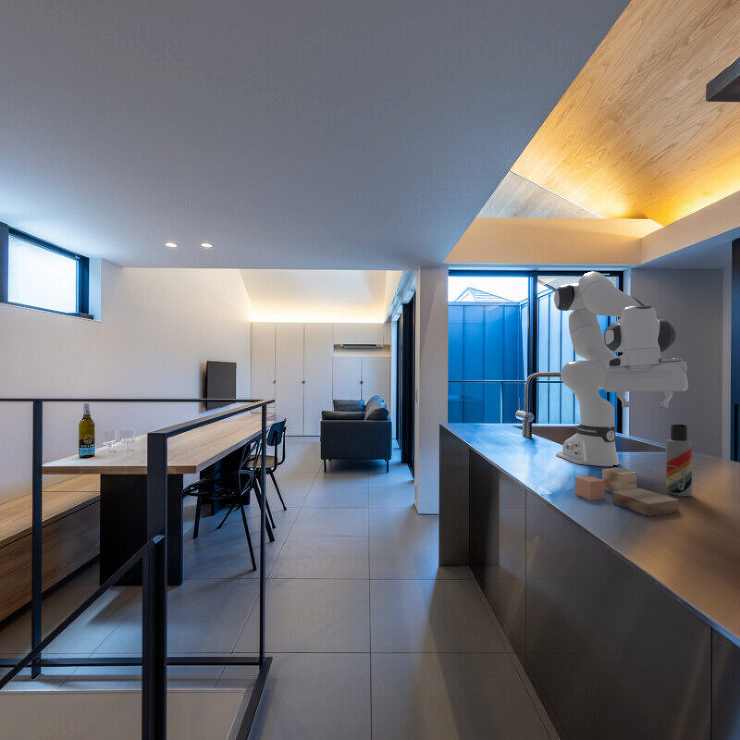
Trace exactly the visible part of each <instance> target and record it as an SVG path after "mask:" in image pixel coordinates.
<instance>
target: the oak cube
mask: <svg viewBox="0 0 740 740" xmlns="http://www.w3.org/2000/svg"><path fill="white" fill-rule="evenodd" d="M637 475H638V473H637V471H636V472H635V471H631V470H628V469H625V468H622V467H621V468H619V467H612V468H611V467H610V468H601V479H602V480H605V491H606V492H609V493H612V491H620V490H628V489H637V488H638V485H637V484H638V483H637V482H638V480H637V478H638V476H637Z"/></svg>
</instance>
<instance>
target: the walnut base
mask: <svg viewBox="0 0 740 740" xmlns="http://www.w3.org/2000/svg"><path fill="white" fill-rule="evenodd" d="M611 503H612V504H614V505H616V506H619V507H623V508H624V509H627V508H628V510H630V509H631V511H633V512H636V513H638V512H639V513H638V514H641V513H642V514H641V515H644V516H646V515H648V516H647V517H649V516H650V517H654V516H653V515H656V516H661V515H660V514H663V515H668V514H667V513H669V514H673V513H672V512H676V513H679V512H680V499H677V498H674V497H671V496H667V495H664V494H661V493H657V492H655V491H650V490H647V489H644V488H641V487H639V488H638V487H637V489H628V490H620V491H612V492H611ZM678 511H679V512H678Z"/></svg>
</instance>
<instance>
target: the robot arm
mask: <svg viewBox="0 0 740 740" xmlns="http://www.w3.org/2000/svg"><path fill="white" fill-rule="evenodd" d="M553 303H554V305H555V308H557V310H558V311H563V312H568V311H571V312H570V314H569V315H568V330H569V335H570V339H571V343H572V348H573V351H574V352H575V354H576V355H577V356H579V357H581V358H582V359H584V360H575V361H570V362H566V363H565V364H564V365H563V367H562V368H561V370H560V378H561V382H562V383H563V384H564V385H565V386H566V388H568V389H570V390H571V392H573V394H574V395H575V396H576V399H577V401H578V404H579V412H580V414H579V415H580V423H579V424H578V425H576V424H575V429H576V433H575V434H574V435H572V436H571V437H569V438H567V439H565V441H564V442H563V443H562V449H561V450H562V451H560V452H559V451H558V452H556V454H555V456H556V457H559V458H561V459H564V460H566V461H569V462H571V463H575V464H578V465H587V466H589V465H590V466H599V467H614V466H613V465H617V466H619V465H620V461H619V459H618V454H617V449H616V442H615V439H616V433H617V432H616V426H615V407H614V406H613V404H612V403H611V402H610V401H609V400H607V399H605V398H603V397H601V394H600V390H604V391H605V392H607V393H616V396H617V398H618V399H619V400H620V401H621V407H622V408H630V407H631V406H630V403H631V402H630V401H628V400H626V398H625V397H624V396H625V395H626V393H628V392H630V393H631V392H632V393H633V392H634V393H635V392H637V393H638V392H639V393H640V392H641V393H642V392H663V394H664V396H665V398H664V399H663V401H659V407H660V408H661V409H669V401H670V400H671V399H672V397H673V395H674V394H673V392H686V391H687V390H688V389H689V379H688V376H687V372H688V369H689V368H688V362H687V361H686V360H685V359H683V358H681V357H673V358H672V357H671V358H669V357H667V358H666V357H665V358H661V353H664V352H665V351H666V350H668V349H670V347H672V345H674V343H675V342H676V338H677V333H676V329H675V328H674V326H673V325H672V324H671V323H670V321H668V320H666V319H664V318H661V317H659V316H658V315H657V312H656V309H655V307H654V306H652V305H645V304H644V303H643V302H642V301H640V300H639V299H637V298H635V297H634V296H632V295H629V294H628V293H625V292H623V291H622V290H620V289H618V287H616V286H615V285H614V283H613V282H612V281H611V279H609V278H608V277H607V276H605V275H604V274H602V273H600V272H598V271H590V272H587V273H584V275H582V276H581V277H580V278H579V280H578V282H577V283H571V284H564V285H563V284H562V285H560V286H558V287H557V288H556V289H555V291H554V295H553ZM598 316H604V317H616V318H617V317H618V318H619V319H618V320H616V321H615V322H612V323H610V324H609V325H608V326H607V328H605V330H604V333H603V332H602V329H601V326H600V323H599V320H598ZM603 334H604V335H603ZM616 353H622V354H621V355H616ZM618 464H619V465H618Z"/></svg>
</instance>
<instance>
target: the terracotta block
mask: <svg viewBox="0 0 740 740" xmlns="http://www.w3.org/2000/svg"><path fill="white" fill-rule="evenodd" d="M574 481H575V486H574V487H575V496H578V497H582V498H584V499H586V500H589V501H594V500H602V499H605V494H606V492H605V491H606V490H605V480H602V478H601V479H600V478H598V477H594V476H592V475H583V476H582V475H581V476H575V479H574Z"/></svg>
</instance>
